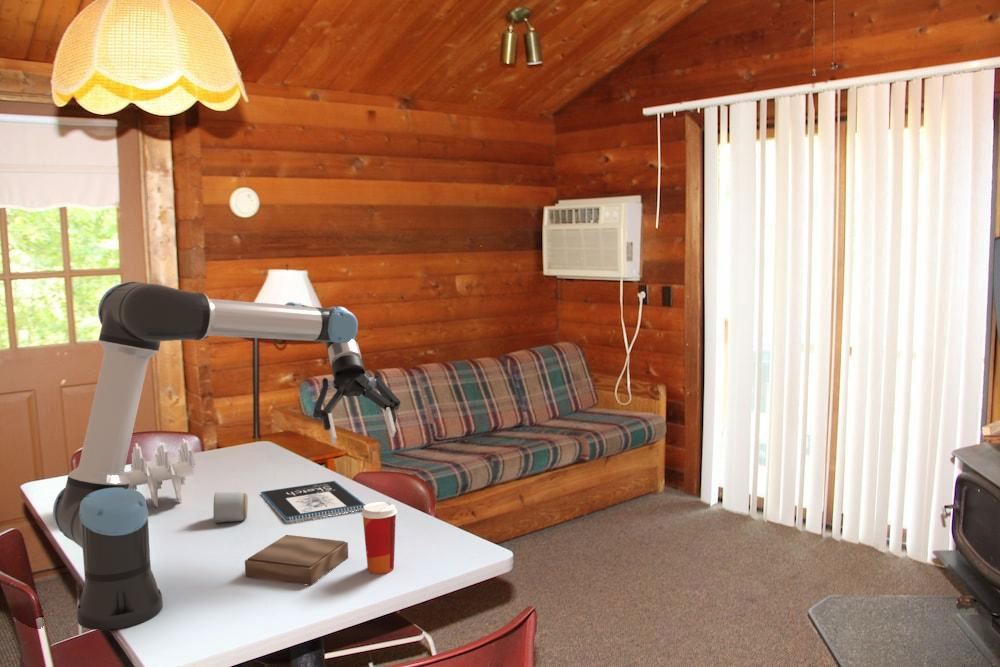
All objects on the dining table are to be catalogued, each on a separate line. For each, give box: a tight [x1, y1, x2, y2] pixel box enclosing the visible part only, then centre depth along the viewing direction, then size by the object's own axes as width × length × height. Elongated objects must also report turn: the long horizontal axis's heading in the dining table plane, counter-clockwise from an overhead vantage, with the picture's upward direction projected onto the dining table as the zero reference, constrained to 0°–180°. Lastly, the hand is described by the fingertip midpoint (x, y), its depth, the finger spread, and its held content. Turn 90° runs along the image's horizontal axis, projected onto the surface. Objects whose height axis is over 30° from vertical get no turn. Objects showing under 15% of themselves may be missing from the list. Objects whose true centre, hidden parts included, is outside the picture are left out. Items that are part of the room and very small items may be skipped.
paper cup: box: [360, 501, 398, 575], centre depth 184 cm, size 8×8×14 cm
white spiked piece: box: [124, 438, 196, 508], centre depth 229 cm, size 18×18×25 cm
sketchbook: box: [260, 480, 366, 525], centre depth 232 cm, size 22×30×2 cm
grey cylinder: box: [212, 491, 249, 524], centre depth 219 cm, size 11×8×8 cm
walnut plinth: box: [244, 534, 349, 586], centre depth 186 cm, size 16×16×4 cm
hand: (364, 437), depth 192 cm, fingers open, 13 cm apart
